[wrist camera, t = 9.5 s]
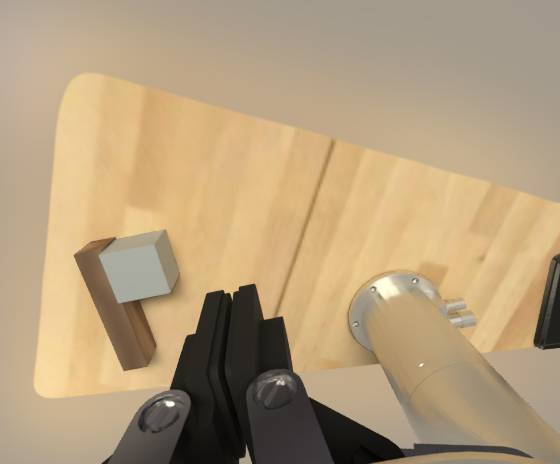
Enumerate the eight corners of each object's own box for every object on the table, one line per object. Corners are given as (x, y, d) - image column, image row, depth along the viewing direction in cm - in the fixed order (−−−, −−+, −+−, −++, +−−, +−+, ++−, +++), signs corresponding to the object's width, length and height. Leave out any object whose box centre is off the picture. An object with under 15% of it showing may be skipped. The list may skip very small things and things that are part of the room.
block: (165, 228, 41) (153, 244, 36) (179, 272, 43) (170, 292, 38) (116, 238, 41) (98, 255, 36) (133, 282, 43) (118, 303, 38)
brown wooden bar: (115, 237, 40) (100, 249, 37) (156, 345, 46) (147, 366, 42) (90, 241, 40) (73, 255, 37) (134, 349, 46) (123, 371, 42)
